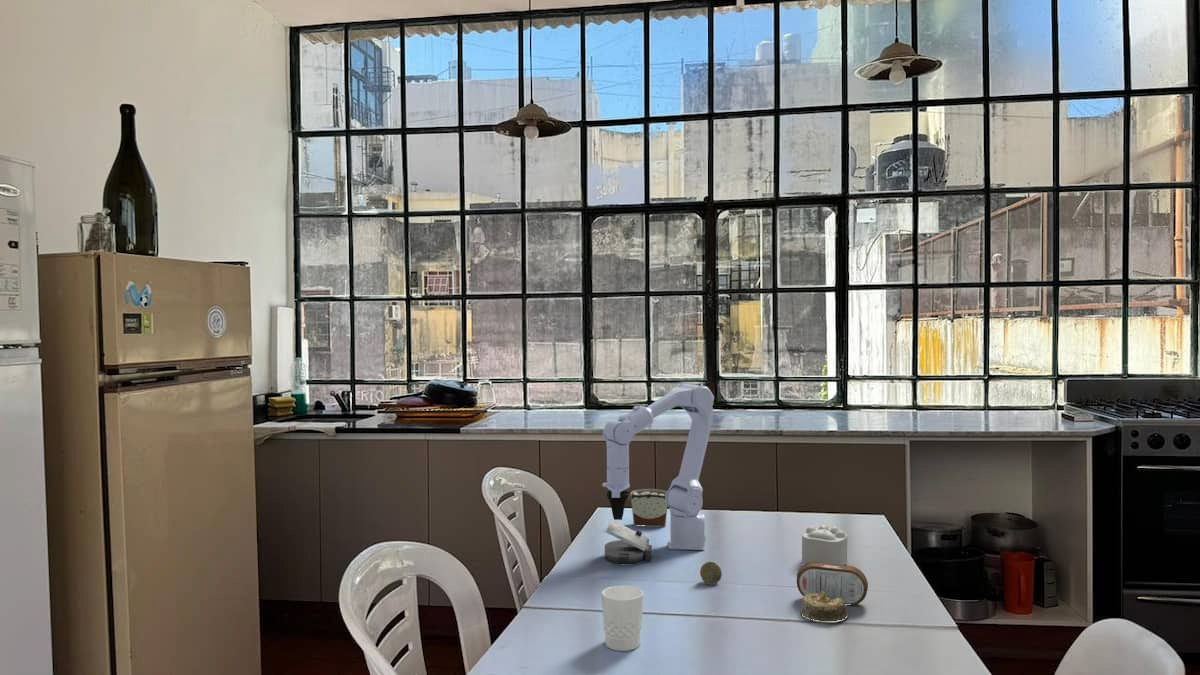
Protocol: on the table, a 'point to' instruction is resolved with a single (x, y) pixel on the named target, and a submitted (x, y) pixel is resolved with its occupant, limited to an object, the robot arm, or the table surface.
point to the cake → (823, 607)
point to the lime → (710, 573)
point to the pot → (626, 553)
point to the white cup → (622, 617)
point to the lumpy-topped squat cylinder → (824, 545)
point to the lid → (628, 535)
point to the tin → (833, 581)
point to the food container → (649, 507)
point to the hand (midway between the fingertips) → (618, 519)
